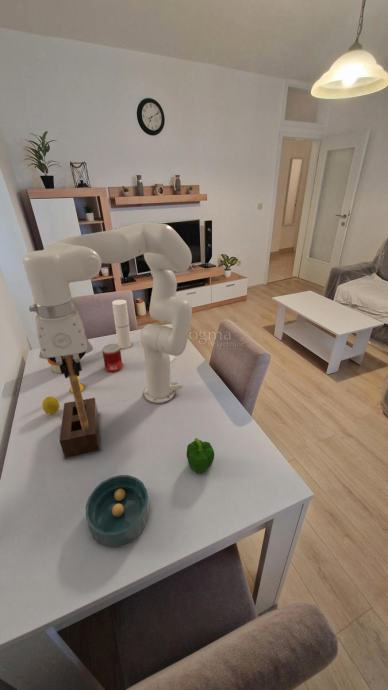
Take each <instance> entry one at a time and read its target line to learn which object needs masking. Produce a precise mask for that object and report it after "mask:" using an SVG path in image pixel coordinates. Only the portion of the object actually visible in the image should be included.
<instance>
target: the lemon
mask: <svg viewBox="0 0 388 690" xmlns="http://www.w3.org/2000/svg"><path fill="white" fill-rule="evenodd" d="M41 407H42V410H43V412H44V413H45V414H47V415H54V414H56V413H57V412H59V409H60V402H59V400H58V399H57V398H56V397H55V396H53V395H52V396H51V395H49V396H47V397H45V398H44V399H43V401H42V404H41Z"/></svg>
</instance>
